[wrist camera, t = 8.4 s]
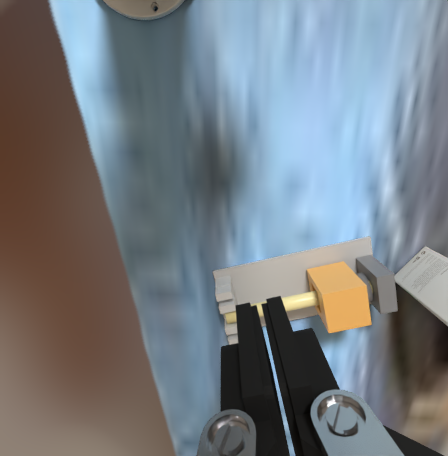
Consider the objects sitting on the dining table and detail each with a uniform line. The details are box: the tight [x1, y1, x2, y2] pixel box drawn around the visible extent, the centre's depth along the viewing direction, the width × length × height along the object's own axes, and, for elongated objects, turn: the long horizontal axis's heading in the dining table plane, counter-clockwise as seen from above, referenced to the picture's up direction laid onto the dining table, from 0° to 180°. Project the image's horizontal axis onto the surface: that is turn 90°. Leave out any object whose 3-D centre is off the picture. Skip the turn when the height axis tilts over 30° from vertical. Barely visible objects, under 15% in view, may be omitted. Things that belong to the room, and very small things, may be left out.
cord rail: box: [213, 236, 398, 345], centre depth 40 cm, size 10×22×6 cm, turn 104°
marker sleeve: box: [307, 261, 371, 333], centre depth 38 cm, size 5×5×7 cm
